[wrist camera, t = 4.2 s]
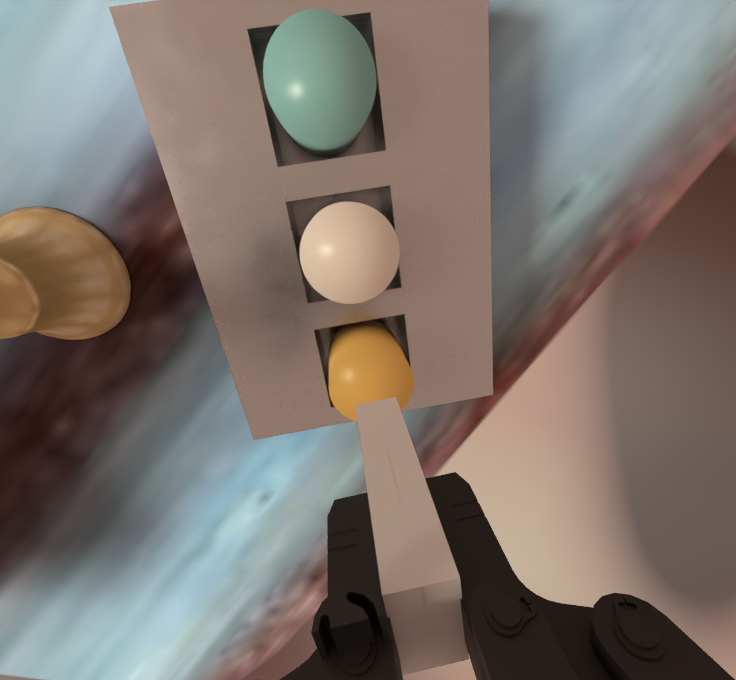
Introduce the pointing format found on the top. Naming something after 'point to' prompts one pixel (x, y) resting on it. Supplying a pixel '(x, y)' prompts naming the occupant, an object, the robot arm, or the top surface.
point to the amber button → (367, 367)
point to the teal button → (319, 80)
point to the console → (326, 192)
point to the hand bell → (58, 276)
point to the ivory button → (349, 252)
